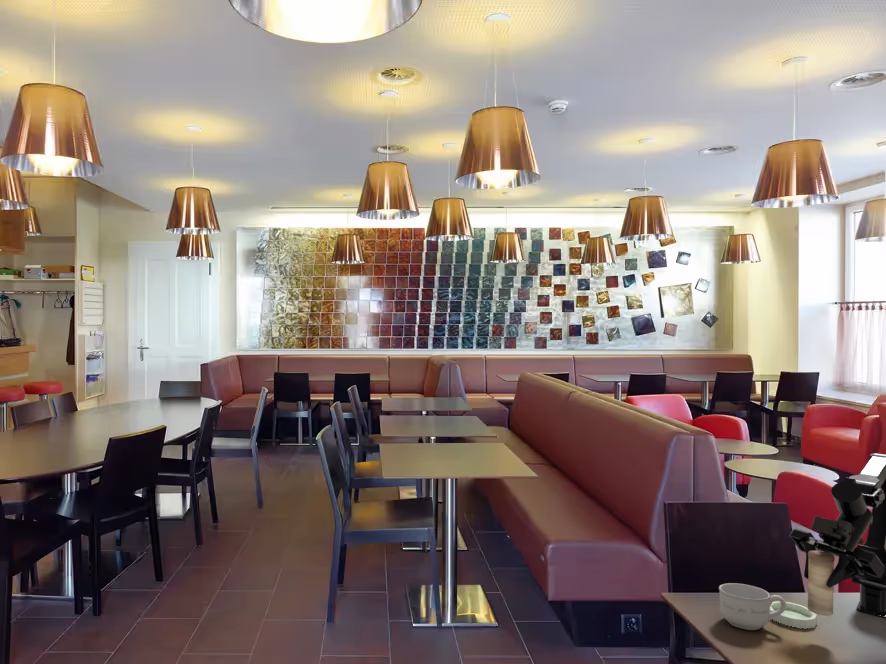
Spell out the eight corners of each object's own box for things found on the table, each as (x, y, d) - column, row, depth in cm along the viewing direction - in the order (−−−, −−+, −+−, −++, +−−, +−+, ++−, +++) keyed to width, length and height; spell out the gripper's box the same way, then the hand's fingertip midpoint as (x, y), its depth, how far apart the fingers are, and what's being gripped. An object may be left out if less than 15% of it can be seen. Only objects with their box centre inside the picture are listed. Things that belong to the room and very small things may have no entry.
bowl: (773, 605, 154) (773, 597, 154) (820, 618, 147) (820, 610, 147) (762, 618, 146) (762, 610, 146) (811, 632, 140) (811, 623, 140)
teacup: (716, 628, 141) (717, 592, 141) (719, 610, 150) (720, 577, 151) (786, 643, 134) (787, 606, 134) (785, 623, 144) (785, 589, 144)
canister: (809, 604, 140) (810, 549, 141) (835, 610, 137) (836, 554, 137) (805, 610, 137) (806, 554, 137) (831, 618, 133) (832, 560, 134)
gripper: (795, 494, 147) (761, 545, 143) (877, 515, 130) (842, 574, 126) (816, 524, 151) (784, 575, 146) (899, 548, 133) (866, 607, 129)
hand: (816, 581), depth 137 cm, fingers closed on canister, 5 cm apart
